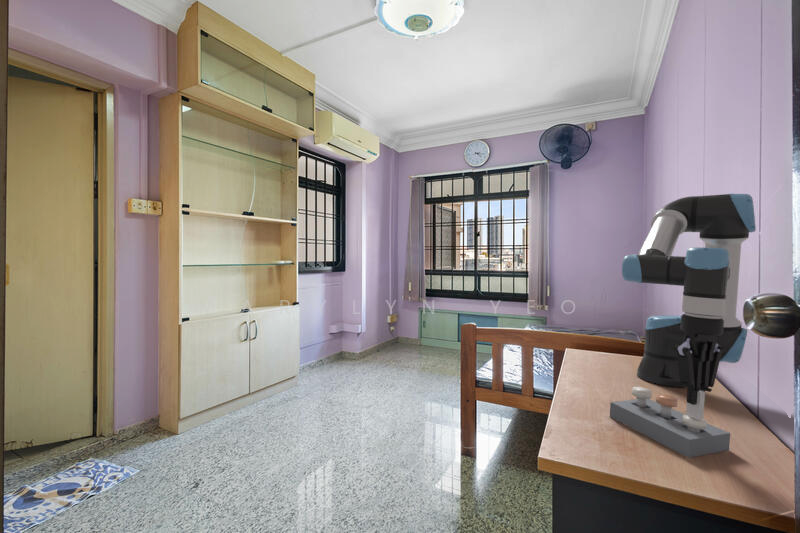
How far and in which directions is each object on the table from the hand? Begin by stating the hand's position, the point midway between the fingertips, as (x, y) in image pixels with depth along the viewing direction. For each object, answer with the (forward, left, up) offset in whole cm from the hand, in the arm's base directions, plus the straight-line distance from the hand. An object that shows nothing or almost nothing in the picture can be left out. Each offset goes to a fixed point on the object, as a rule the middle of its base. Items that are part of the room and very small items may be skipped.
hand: (694, 417), depth 83 cm
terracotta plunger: (0, -7, -3) cm, 7 cm away
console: (0, -7, -7) cm, 9 cm away
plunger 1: (0, -13, -4) cm, 14 cm away
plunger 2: (0, 0, -5) cm, 5 cm away
